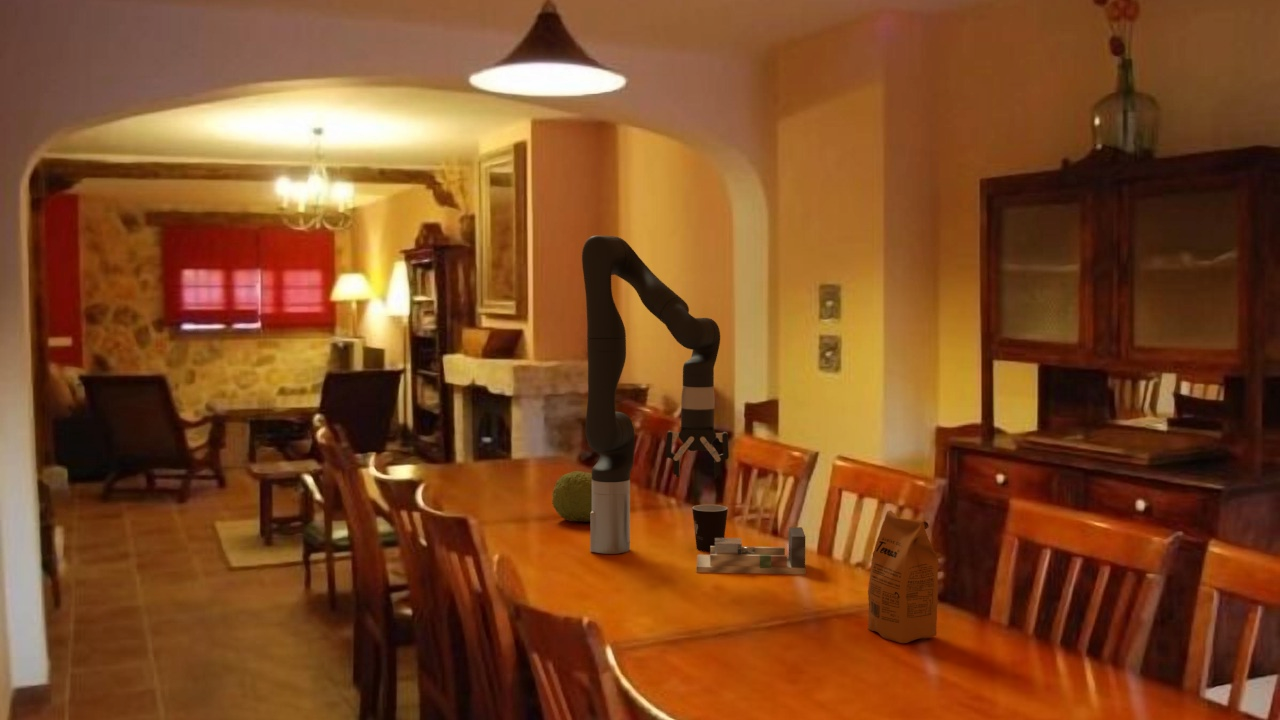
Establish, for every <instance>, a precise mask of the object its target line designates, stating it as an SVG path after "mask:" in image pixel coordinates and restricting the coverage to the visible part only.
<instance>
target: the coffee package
mask: <svg viewBox="0 0 1280 720" xmlns="http://www.w3.org/2000/svg"><path fill="white" fill-rule="evenodd" d="M929 527H930V525H929V522H927V521H926V520H920V519H911V518H910V519H909V518H900V517H899V516H898V515H897V514H896V513H894V512H893V511H892V510H887V511H886V514H885V516H884V520H883V522H882V524H881V527H880V531H879V533H878V537H877V538H876V542H875V546H874V548H873V552H872V556H871V557H872V558H871V565H870V573H869V580H868V581H869V582H868V589H867V595H868V598H867V599H868V626H867V628H868V630H869V631H872V632H877V633H878V634H879V635H880V636H881V638H883V639H885V640H888V641H892V642H896V643H899V644H908V643H910V642H913V641H916V640H918V639H919V640H920V639H930V638H932V637H934V636H937V633H938V632H937V628H938V627H937V623H938V622H937V621H938V606H939V605H938V604H939V602H938V591H939V578H938V577H939V558H938V556H937V553H936V552H935V549H934V547H933V544H932V543H931V540H930V539H929V536H928V534H927V532H926V530H927V529H928V528H929Z"/></svg>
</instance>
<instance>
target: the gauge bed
mask: <svg viewBox="0 0 1280 720" xmlns="http://www.w3.org/2000/svg"><path fill="white" fill-rule="evenodd" d="M742 547H746V546H744V545H742ZM754 547H755V554H715V546H710V552H709V553H710V554H697V555H696V573H716V574H718V573H719V574H720V573H721V574H723V573H724V574H760V575H761V574H765V575H767V574H770V575H771V574H773V575H774V574H775V575H806V534H805V531H804V528H803V527H802V526H801V527H800V526H797V527H796V526H794V527H793V526H792V527H791V526H789V527H788V555H787V554H785V551H786V549H785V548H786V547H785V546H754Z"/></svg>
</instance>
